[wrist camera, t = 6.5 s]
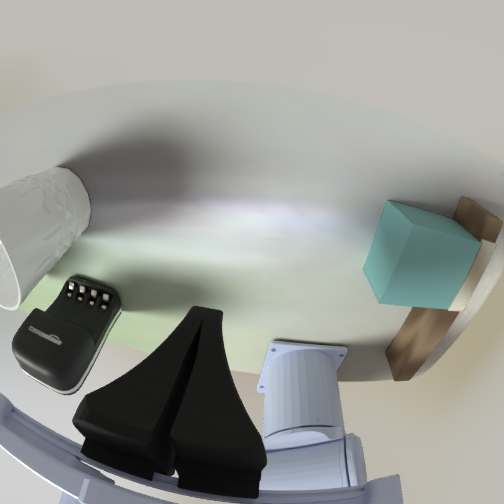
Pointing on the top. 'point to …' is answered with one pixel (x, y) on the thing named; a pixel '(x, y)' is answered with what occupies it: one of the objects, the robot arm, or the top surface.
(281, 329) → the top surface
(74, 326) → the battery charger
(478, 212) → the walnut board
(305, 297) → the top surface
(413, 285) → the teal block
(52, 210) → the white cup
